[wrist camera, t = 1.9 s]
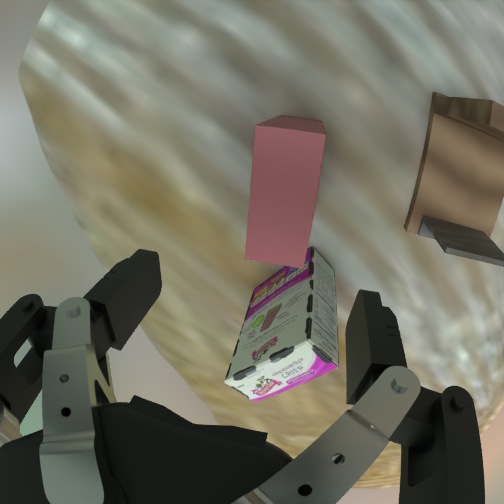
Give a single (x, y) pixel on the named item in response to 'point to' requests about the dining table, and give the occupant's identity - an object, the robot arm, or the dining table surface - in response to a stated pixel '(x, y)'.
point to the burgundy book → (284, 189)
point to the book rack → (461, 178)
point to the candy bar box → (287, 331)
